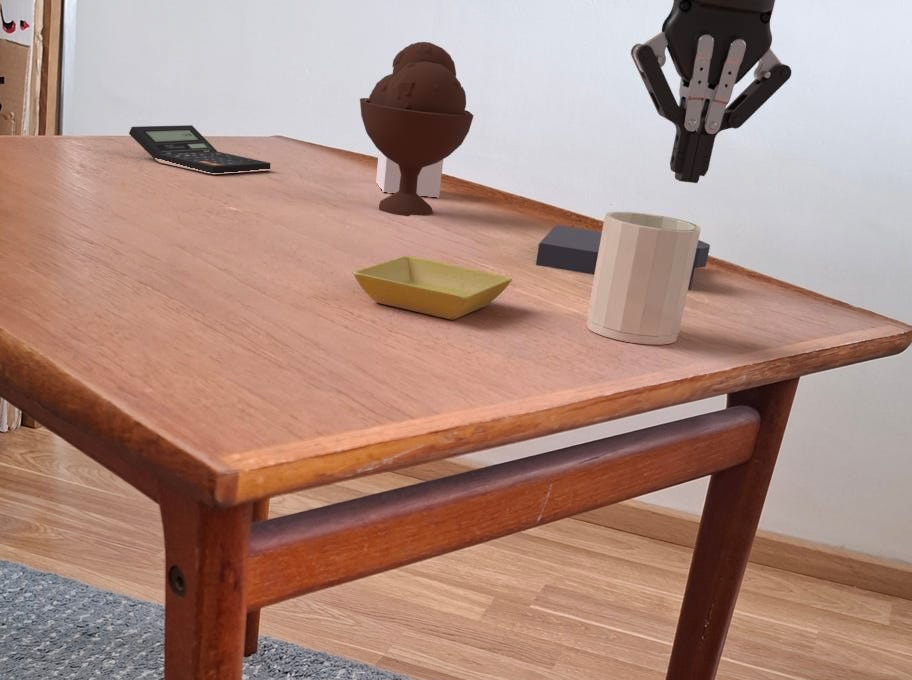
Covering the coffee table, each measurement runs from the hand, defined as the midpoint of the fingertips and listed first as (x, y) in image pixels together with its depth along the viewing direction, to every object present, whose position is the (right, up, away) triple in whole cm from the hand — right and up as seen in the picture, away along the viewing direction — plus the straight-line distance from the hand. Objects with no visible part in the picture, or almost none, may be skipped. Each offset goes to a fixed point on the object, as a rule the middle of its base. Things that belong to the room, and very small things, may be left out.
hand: (686, 180), depth 100 cm
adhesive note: (-23, +11, +33) cm, 42 cm away
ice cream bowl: (-23, +5, +21) cm, 32 cm away
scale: (-4, -5, +8) cm, 10 cm away
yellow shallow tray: (-21, -14, -14) cm, 28 cm away
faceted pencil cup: (-7, -16, -14) cm, 22 cm away
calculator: (-46, +14, +33) cm, 58 cm away
